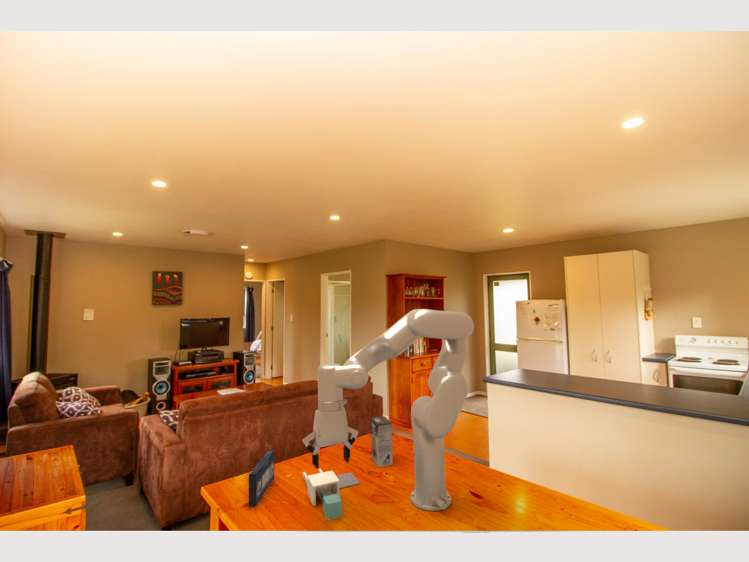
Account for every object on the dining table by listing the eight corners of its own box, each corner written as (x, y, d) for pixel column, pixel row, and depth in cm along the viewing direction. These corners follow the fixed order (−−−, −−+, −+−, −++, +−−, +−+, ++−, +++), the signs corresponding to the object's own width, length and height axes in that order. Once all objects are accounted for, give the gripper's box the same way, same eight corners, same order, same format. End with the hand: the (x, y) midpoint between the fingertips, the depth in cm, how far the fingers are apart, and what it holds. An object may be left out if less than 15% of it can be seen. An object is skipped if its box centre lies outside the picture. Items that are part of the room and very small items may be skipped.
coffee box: (370, 458, 146) (369, 417, 147) (385, 455, 148) (384, 415, 149) (377, 467, 137) (376, 424, 138) (393, 464, 139) (392, 422, 140)
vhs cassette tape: (256, 507, 112) (256, 474, 112) (246, 507, 112) (246, 474, 112) (275, 479, 130) (275, 450, 131) (267, 479, 130) (267, 450, 131)
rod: (335, 510, 109) (335, 498, 110) (326, 512, 108) (326, 500, 108) (324, 489, 122) (323, 478, 122) (315, 491, 121) (315, 480, 121)
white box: (339, 499, 115) (339, 480, 115) (313, 506, 111) (313, 486, 112) (323, 473, 133) (323, 457, 133) (300, 478, 130) (300, 461, 130)
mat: (359, 484, 124) (359, 483, 124) (334, 490, 121) (334, 488, 121) (350, 473, 132) (350, 472, 132) (327, 478, 129) (327, 477, 129)
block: (342, 516, 105) (341, 500, 106) (327, 520, 104) (327, 504, 104) (337, 509, 109) (337, 493, 110) (323, 512, 108) (323, 496, 108)
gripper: (353, 399, 116) (354, 454, 115) (299, 406, 110) (300, 464, 108) (361, 404, 110) (362, 463, 108) (304, 412, 103) (305, 474, 101)
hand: (331, 463), depth 108 cm, fingers open, 9 cm apart
